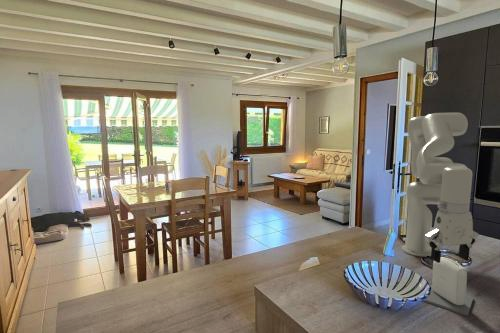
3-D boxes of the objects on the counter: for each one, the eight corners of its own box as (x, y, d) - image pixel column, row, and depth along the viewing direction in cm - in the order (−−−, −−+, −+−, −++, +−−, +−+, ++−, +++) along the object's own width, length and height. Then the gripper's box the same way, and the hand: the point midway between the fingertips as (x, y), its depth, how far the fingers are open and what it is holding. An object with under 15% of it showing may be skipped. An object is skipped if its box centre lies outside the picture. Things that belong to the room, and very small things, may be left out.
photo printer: (429, 289, 100) (431, 254, 99) (440, 288, 101) (442, 253, 100) (455, 307, 90) (458, 267, 89) (467, 305, 91) (470, 266, 90)
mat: (430, 286, 104) (430, 284, 104) (473, 299, 96) (473, 297, 96) (421, 300, 95) (421, 298, 95) (467, 316, 87) (467, 313, 87)
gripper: (437, 212, 87) (432, 267, 90) (490, 209, 90) (484, 263, 92) (419, 205, 95) (416, 256, 97) (469, 202, 97) (464, 252, 99)
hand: (449, 259), depth 95 cm, fingers open, 9 cm apart
